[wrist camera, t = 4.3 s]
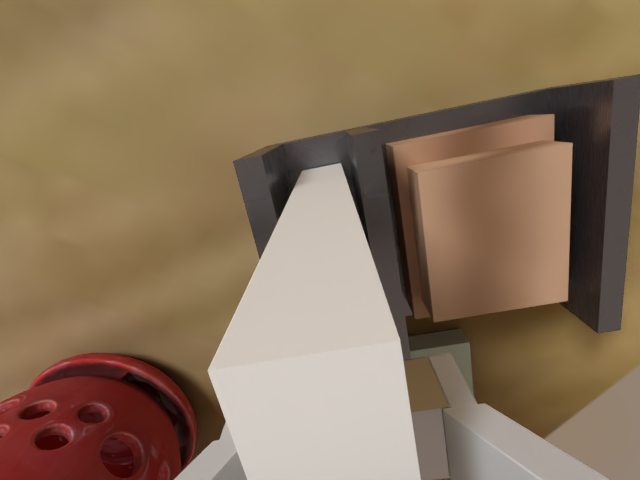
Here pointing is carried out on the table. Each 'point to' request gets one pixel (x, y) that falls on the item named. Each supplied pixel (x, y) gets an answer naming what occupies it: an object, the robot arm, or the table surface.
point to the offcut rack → (563, 101)
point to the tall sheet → (316, 351)
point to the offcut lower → (440, 149)
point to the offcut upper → (493, 229)
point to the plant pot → (97, 423)
